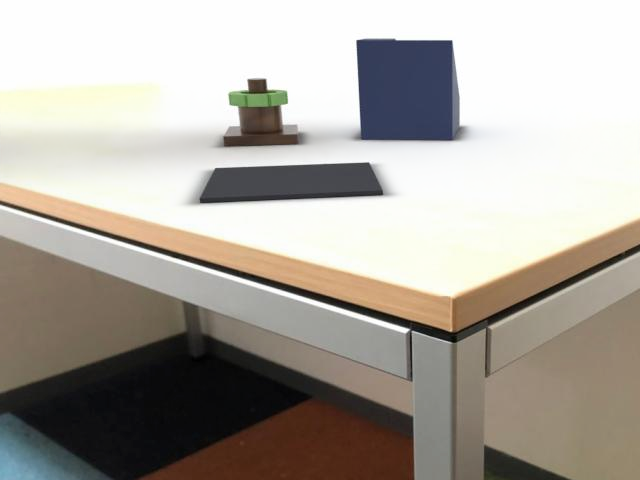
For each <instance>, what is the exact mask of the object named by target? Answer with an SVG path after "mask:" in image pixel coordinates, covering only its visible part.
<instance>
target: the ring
mask: <svg viewBox="0 0 640 480" xmlns="http://www.w3.org/2000/svg"><path fill="white" fill-rule="evenodd" d="M288 96H289V95H288V90H284V89H273V88H272V89H269V88H268V93H267V94H249V92H248V89H243V90H233V91H229V92H228V102H229V103H228V104H229V106H232V107H238V106H241V107H247V106H248V107H268V106H278V105H281V106H285V105H288V104H289V97H288Z"/></svg>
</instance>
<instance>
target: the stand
mask: <svg viewBox="0 0 640 480" xmlns="http://www.w3.org/2000/svg"><path fill="white" fill-rule="evenodd" d="M246 82H247V90H248V92H249V94H267V93H268V89H269V88H268V79H267V78H265V77H256V78H255V77H253V78H247V79H246ZM237 111H238V120H239V125H232V126H231V125H230V126H228V128H227V130H226V131H225V132H224V135H223V136H222V139H223V145H224V147H237V146H238V147H240V146H244V147H245V146H272V145H273V146H275V145H276V146H277V145H298V144H299V129H298V124H284V123H283V121H284V120H283V111H282V105H278V106H268V107H248V106H247V107H241V106H237Z"/></svg>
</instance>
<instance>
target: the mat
mask: <svg viewBox="0 0 640 480" xmlns="http://www.w3.org/2000/svg"><path fill="white" fill-rule="evenodd" d="M371 165H372V164H371V163H370V161H367V162H366V161H365V162H342V163H341V162H339V163H338V162H337V163H316V164H315V163H314V164H313V163H311V164H287V165H286V164H285V165H261V166H259V165H258V166H234V167H233V166H232V167H231V166H230V167H229V166H228V167H215V168H214V169H213V172H212V173H211V175H210V177H209V179H208V181H207V183H206V185H205V187H204V189H203V190H202V193H201V195H200V196H199V203H221V202H222V203H223V202H244V201H265V200H267V201H268V200H290V199H312V198H314V199H315V198H333V197H334V198H335V197H356V196H378V195H380V196H381V195H384V190H383V188H382V186H381V184H380V182H379V179H378V177H377V176H376V174H375V172H374V169H373V168H372V166H371Z"/></svg>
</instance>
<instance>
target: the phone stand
mask: <svg viewBox="0 0 640 480" xmlns="http://www.w3.org/2000/svg"><path fill="white" fill-rule="evenodd" d="M355 42H356V43H355V46H356V60H357V61H356V62H357V63H356V66H357V83H358V84H357V86H358V103H359V104H358V106H359V124H360V127H359V128H360V140H410V141H411V140H417V141H420V140H421V141H422V140H423V141H425V140H426V141H453V140H454V138H455V137H456V134H457V133H458V131H459V129H460V125H461V123H460V122H461V120H460V117H461V116H460V115H461V114H460V113H461V110H460V109H461V105H460V104H461V103H460V102H461V101H460V98H461V97H460V90H459V82H458V81H459V80H458V75H457V74H458V73H457V66H456V58H455V49H454V42H453V40H452V39H396V38H361V39H356V40H355Z"/></svg>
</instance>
